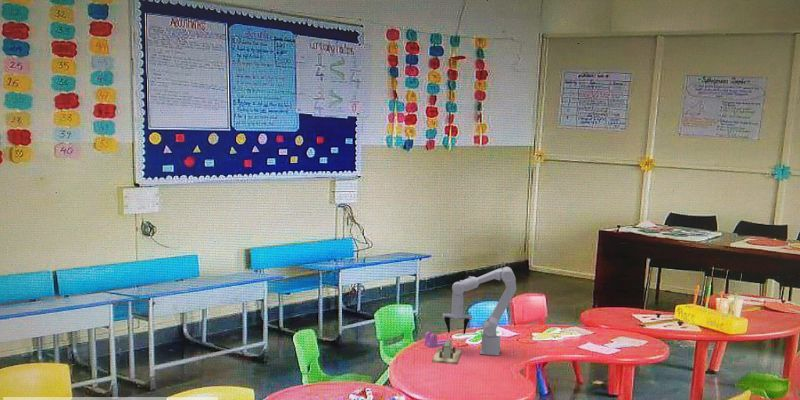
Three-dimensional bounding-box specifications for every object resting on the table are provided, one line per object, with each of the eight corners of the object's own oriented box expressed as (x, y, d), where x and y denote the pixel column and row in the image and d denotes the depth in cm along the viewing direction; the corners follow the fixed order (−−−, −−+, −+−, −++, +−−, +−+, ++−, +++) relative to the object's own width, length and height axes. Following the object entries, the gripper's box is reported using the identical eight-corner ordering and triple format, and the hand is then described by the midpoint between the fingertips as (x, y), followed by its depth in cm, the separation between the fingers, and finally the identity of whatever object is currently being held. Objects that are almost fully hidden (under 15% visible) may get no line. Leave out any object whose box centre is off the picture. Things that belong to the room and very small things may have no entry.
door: (451, 352, 363) (451, 340, 362) (448, 358, 353) (448, 346, 352) (446, 351, 363) (446, 339, 363) (443, 357, 353) (443, 345, 353)
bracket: (431, 348, 372) (431, 334, 372) (424, 345, 377) (425, 332, 376) (451, 344, 379) (452, 331, 379) (445, 341, 384) (445, 328, 383)
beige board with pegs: (462, 351, 367) (462, 344, 367) (457, 364, 347) (457, 357, 347) (438, 349, 369) (438, 342, 369) (432, 362, 350) (432, 354, 349)
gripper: (441, 307, 363) (441, 333, 364) (471, 309, 360) (470, 336, 361) (443, 303, 370) (443, 330, 371) (472, 305, 367) (471, 332, 368)
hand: (456, 332), depth 367 cm, fingers open, 7 cm apart
